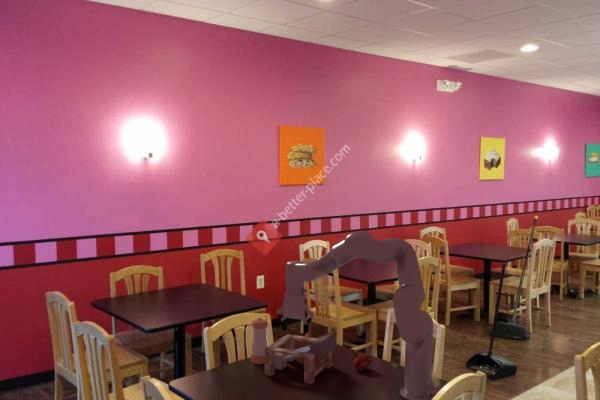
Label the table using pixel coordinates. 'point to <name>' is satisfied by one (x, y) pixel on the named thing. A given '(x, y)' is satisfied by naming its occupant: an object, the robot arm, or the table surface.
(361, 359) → the pomegranate
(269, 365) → the trapdoor frame
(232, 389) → the table surface
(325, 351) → the trapdoor
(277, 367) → the granite stone
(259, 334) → the pepper shaker
